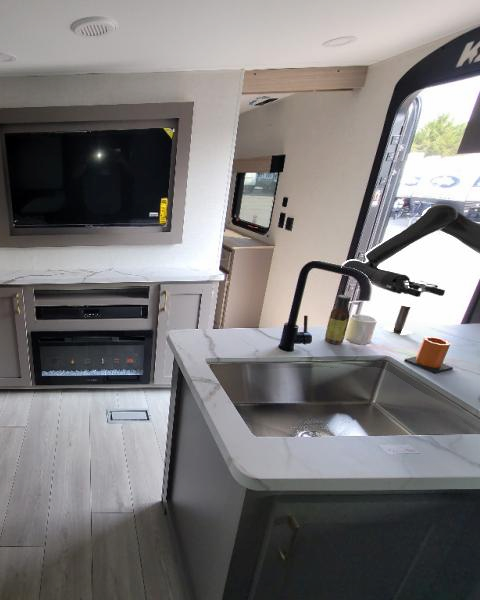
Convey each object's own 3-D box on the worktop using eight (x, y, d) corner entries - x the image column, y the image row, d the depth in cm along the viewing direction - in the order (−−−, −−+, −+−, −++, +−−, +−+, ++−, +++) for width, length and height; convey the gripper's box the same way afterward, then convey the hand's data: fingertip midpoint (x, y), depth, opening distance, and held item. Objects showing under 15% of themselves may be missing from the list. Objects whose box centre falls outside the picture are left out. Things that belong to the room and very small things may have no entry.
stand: (393, 328, 145) (402, 301, 140) (412, 335, 138) (422, 306, 134) (381, 330, 143) (390, 303, 138) (400, 337, 137) (410, 309, 132)
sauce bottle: (344, 346, 132) (358, 300, 125) (326, 343, 134) (338, 298, 127) (339, 338, 137) (351, 294, 130) (321, 336, 139) (333, 293, 132)
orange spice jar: (411, 358, 120) (419, 337, 117) (427, 358, 120) (436, 336, 117) (428, 368, 114) (437, 345, 111) (445, 367, 114) (455, 344, 111)
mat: (421, 356, 122) (421, 354, 122) (452, 369, 114) (453, 367, 114) (404, 360, 120) (404, 358, 120) (434, 373, 112) (435, 371, 112)
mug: (373, 351, 127) (381, 327, 123) (346, 346, 131) (353, 323, 127) (367, 338, 137) (374, 316, 133) (342, 334, 141) (349, 312, 137)
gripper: (374, 272, 129) (415, 284, 114) (409, 270, 129) (455, 282, 114) (369, 290, 131) (408, 304, 116) (403, 288, 132) (447, 302, 116)
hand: (431, 293), depth 115 cm, fingers open, 8 cm apart
